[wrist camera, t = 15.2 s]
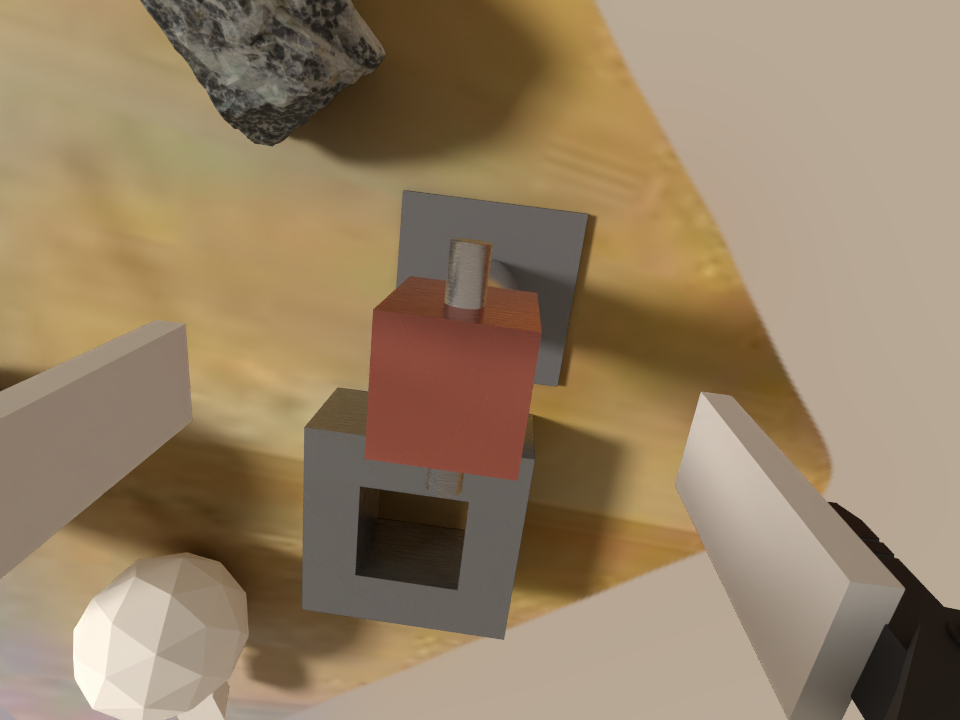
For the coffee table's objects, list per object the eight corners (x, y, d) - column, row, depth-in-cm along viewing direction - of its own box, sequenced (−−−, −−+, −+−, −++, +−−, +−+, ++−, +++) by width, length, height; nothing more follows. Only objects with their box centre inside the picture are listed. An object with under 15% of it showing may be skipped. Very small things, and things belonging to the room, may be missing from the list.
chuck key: (448, 207, 27) (377, 239, 14) (538, 218, 27) (552, 262, 14) (433, 361, 30) (361, 512, 16) (515, 372, 30) (508, 533, 16)
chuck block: (337, 387, 31) (304, 427, 26) (532, 414, 31) (535, 459, 26) (331, 549, 35) (301, 609, 30) (506, 575, 35) (503, 639, 30)
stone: (-3, -19, 16) (328, -31, 16) (99, -212, 20) (373, -231, 19) (182, 190, 25) (399, 190, 24) (230, 31, 29) (421, 26, 28)
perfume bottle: (80, 540, 34) (154, 669, 39) (4, 677, 26) (110, 816, 31) (230, 503, 35) (282, 632, 40) (203, 620, 27) (272, 762, 32)
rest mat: (404, 190, 27) (402, 190, 27) (587, 213, 27) (588, 214, 27) (392, 361, 30) (391, 363, 30) (556, 384, 30) (557, 386, 30)
